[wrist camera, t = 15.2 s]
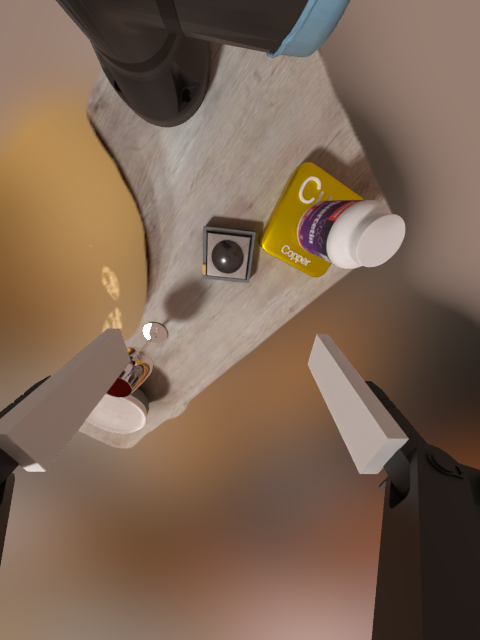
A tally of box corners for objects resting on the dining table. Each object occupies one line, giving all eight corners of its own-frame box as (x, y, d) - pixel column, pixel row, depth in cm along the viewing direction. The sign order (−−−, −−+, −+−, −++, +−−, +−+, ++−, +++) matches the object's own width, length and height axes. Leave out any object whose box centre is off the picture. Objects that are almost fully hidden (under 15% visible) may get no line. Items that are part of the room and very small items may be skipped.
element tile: (255, 245, 38) (257, 248, 34) (296, 162, 32) (304, 154, 28) (312, 275, 42) (320, 281, 37) (359, 206, 35) (376, 205, 31)
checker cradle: (205, 225, 36) (202, 226, 33) (254, 231, 37) (255, 232, 34) (204, 275, 41) (202, 278, 38) (248, 279, 41) (249, 283, 39)
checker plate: (209, 232, 35) (207, 233, 33) (249, 236, 36) (250, 237, 34) (208, 272, 39) (207, 275, 37) (244, 276, 40) (245, 279, 38)
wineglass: (173, 325, 47) (141, 378, 32) (168, 348, 51) (137, 405, 35) (141, 315, 46) (91, 365, 30) (138, 340, 49) (91, 396, 34)
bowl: (160, 411, 65) (150, 435, 58) (106, 408, 64) (89, 432, 57) (153, 373, 56) (140, 396, 49) (90, 369, 55) (68, 392, 48)
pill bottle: (313, 190, 29) (389, 179, 17) (347, 216, 32) (432, 222, 20) (285, 239, 32) (331, 260, 20) (318, 259, 35) (375, 287, 23)
